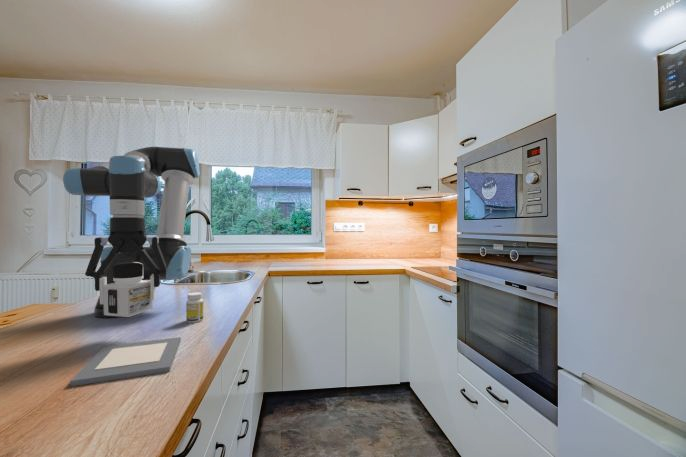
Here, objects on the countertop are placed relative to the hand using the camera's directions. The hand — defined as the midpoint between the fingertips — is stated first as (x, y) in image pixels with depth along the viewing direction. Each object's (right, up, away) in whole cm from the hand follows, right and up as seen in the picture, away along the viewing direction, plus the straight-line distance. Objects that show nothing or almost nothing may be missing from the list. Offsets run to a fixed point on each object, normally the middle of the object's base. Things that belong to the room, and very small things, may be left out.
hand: (128, 301), depth 82 cm
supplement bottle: (+10, -10, +15) cm, 21 cm away
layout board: (+11, -10, -14) cm, 20 cm away
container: (0, -3, 0) cm, 3 cm away
